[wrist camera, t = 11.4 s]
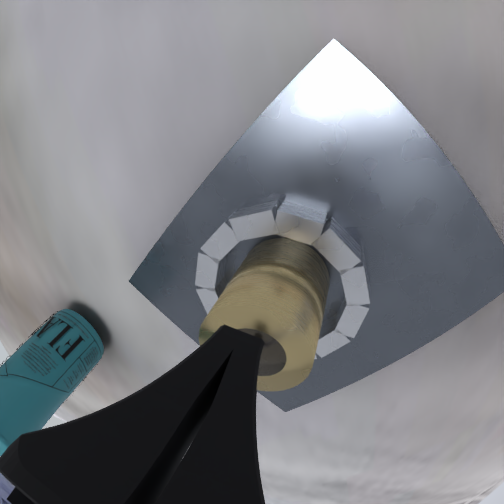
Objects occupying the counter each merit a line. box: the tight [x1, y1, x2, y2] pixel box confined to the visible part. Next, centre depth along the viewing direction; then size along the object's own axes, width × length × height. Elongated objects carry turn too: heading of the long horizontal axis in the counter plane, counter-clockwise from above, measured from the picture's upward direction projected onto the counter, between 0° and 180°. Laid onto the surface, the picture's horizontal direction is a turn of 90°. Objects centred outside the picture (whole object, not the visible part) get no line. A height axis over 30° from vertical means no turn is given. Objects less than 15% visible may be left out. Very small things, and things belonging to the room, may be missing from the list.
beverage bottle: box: [0, 309, 104, 456], centre depth 20 cm, size 6×7×20 cm
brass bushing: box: [199, 238, 330, 391], centre depth 16 cm, size 5×5×6 cm
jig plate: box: [129, 39, 504, 412], centre depth 18 cm, size 16×20×2 cm
